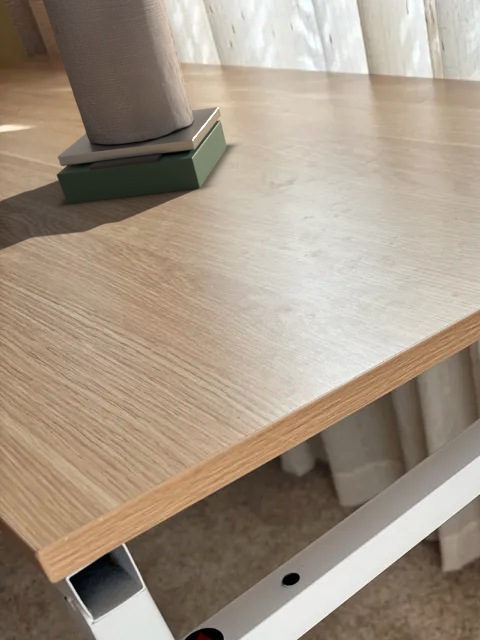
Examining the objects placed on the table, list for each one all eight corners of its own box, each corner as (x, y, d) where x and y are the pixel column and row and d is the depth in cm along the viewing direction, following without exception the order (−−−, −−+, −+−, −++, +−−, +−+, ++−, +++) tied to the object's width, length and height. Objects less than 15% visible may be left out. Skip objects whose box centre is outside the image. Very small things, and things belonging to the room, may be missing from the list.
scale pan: (60, 166, 71) (57, 156, 70) (101, 130, 80) (99, 122, 79) (194, 149, 70) (192, 139, 69) (220, 115, 79) (218, 106, 78)
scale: (66, 204, 71) (54, 171, 70) (110, 162, 81) (100, 132, 80) (200, 188, 70) (191, 154, 69) (227, 147, 80) (220, 117, 78)
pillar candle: (93, 128, 78) (29, -67, 68) (195, 110, 78) (146, -85, 69) (83, 152, 70) (10, -62, 61) (196, 133, 71) (141, -82, 61)
